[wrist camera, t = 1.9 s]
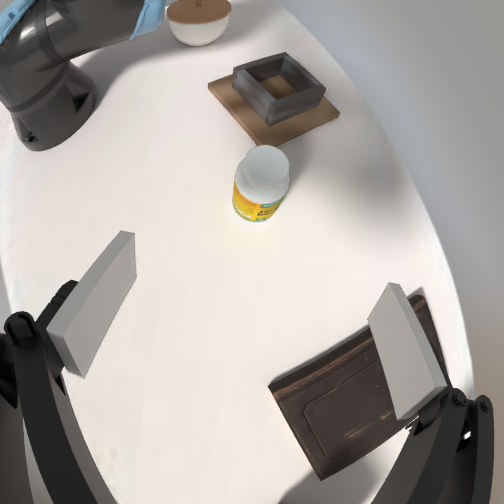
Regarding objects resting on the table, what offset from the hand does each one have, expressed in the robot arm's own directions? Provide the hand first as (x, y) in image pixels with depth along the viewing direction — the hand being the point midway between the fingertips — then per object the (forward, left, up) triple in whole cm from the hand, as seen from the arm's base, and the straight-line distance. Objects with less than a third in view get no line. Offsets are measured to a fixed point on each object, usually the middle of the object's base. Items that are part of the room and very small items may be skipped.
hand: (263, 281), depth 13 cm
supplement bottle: (-8, +8, -17) cm, 21 cm away
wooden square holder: (-20, +20, -17) cm, 33 cm away
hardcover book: (+20, +7, -18) cm, 28 cm away
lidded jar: (-41, +19, -17) cm, 48 cm away
